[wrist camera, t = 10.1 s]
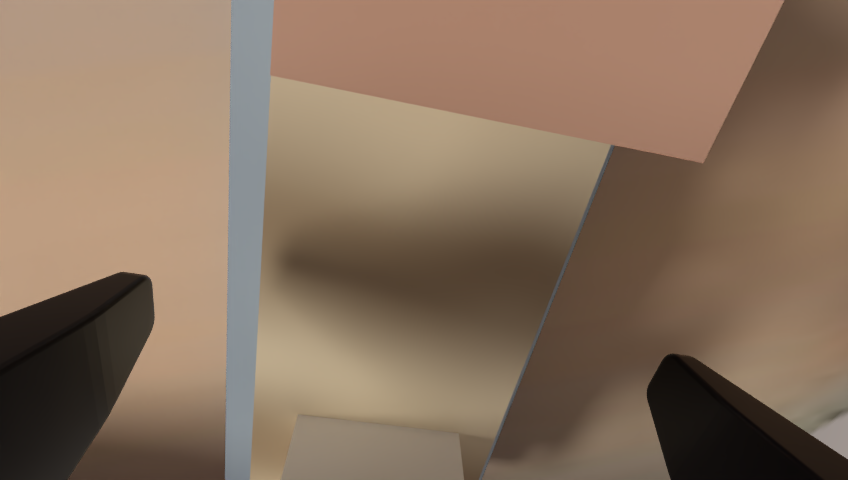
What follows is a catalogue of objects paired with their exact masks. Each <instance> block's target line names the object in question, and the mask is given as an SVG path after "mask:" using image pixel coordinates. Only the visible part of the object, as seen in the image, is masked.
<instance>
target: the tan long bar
mask: <svg viewBox="0 0 848 480" xmlns="http://www.w3.org/2000/svg"><path fill="white" fill-rule="evenodd" d="M610 146H611V144H606V143H601V142H596V141H591V140H586V139H581V138H576V137H571V136H566V135H561V134H557V133H552V132H547V131H542V130H537V129H532V128H527V127H522V126H517V125H512V124H507V123H502V122H497V121H492V120H487V119H483V118H478V117H473V116H468V115H463V114H458V113H453V112H448V111H443V110H438V109H433V108H428V107H423V106H418V105H414V104H409V103H404V102H399V101H394V100H389V99H384V98H379V97H374V96H369V95H364V94H359V93H354V92H349V91H345V90H340V89H335V88H330V87H325V86H320V85H315V84H310V83H305V82H300V81H295V80H290V79H285V78H280V77H276V76H271V82H270V102H269V121H268V140H267V160H266V179H265V198H264V217H263V237H262V256H261V275H260V294H259V314H258V333H257V352H256V372H255V391H254V410H253V429H252V449H251V468H250V480H281V477H282V473H283V469H284V465H285V461H286V458H287V454H288V450H289V446H290V442H291V439H292V435H293V431H294V427H295V423H296V419H297V416H298V414H299V415H308V416H316V417H325V418H333V419H342V420H350V421H359V422H367V423H376V424H384V425H393V426H401V427H410V428H419V429H427V430H436V431H444V432H453V433H459V439H460V448H461V457H462V466H463V475H464V480H479V478H480V475H481V473H482V470H483V467H484V465H485V462H486V460H487V457H488V455H489V452H490V450H491V447H492V445H493V442H494V440H495V437H496V435H497V432H498V430H499V427H500V424H501V422H502V419H503V417H504V414H505V412H506V409H507V407H508V404H509V402H510V399H511V397H512V394H513V392H514V389H515V387H516V384H517V381H518V379H519V376H520V374H521V371H522V369H523V366H524V364H525V361H526V359H527V356H528V354H529V351H530V349H531V346H532V344H533V341H534V339H535V336H536V333H537V331H538V328H539V326H540V323H541V321H542V318H543V316H544V313H545V311H546V308H547V306H548V303H549V301H550V298H551V296H552V293H553V290H554V288H555V285H556V283H557V280H558V278H559V275H560V273H561V270H562V268H563V265H564V263H565V260H566V258H567V255H568V253H569V250H570V248H571V245H572V242H573V240H574V237H575V235H576V232H577V230H578V227H579V225H580V222H581V220H582V217H583V215H584V212H585V210H586V207H587V205H588V202H589V199H590V197H591V194H592V192H593V189H594V187H595V184H596V182H597V179H598V177H599V174H600V172H601V169H602V167H603V164H604V162H605V159H606V156H607V154H608V151H609V149H610Z"/></svg>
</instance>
